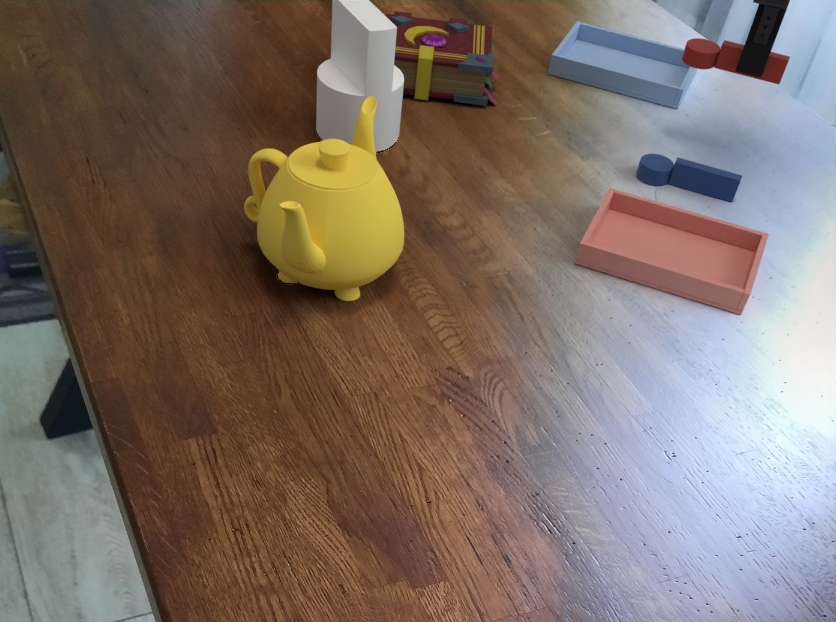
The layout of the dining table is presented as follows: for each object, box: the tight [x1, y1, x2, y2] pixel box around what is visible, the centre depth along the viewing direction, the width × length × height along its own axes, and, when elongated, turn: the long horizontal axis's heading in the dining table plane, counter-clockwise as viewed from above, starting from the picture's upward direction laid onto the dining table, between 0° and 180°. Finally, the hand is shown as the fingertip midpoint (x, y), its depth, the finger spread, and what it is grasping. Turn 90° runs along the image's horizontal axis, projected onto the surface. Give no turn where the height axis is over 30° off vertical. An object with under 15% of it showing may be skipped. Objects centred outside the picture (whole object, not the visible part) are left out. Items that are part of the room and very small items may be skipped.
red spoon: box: [682, 37, 791, 85], centre depth 98 cm, size 11×4×2 cm, turn 67°
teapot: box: [243, 96, 405, 302], centre depth 81 cm, size 20×15×12 cm
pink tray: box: [574, 187, 769, 315], centre depth 90 cm, size 16×11×2 cm
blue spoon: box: [635, 153, 743, 203], centre depth 98 cm, size 11×4×2 cm, turn 67°
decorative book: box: [383, 10, 499, 107], centre depth 107 cm, size 11×16×5 cm
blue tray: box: [547, 20, 698, 110], centre depth 113 cm, size 16×11×2 cm
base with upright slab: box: [315, 0, 404, 152], centre depth 95 cm, size 9×9×12 cm
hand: (750, 69), depth 98 cm, fingers closed on red spoon, 1 cm apart
